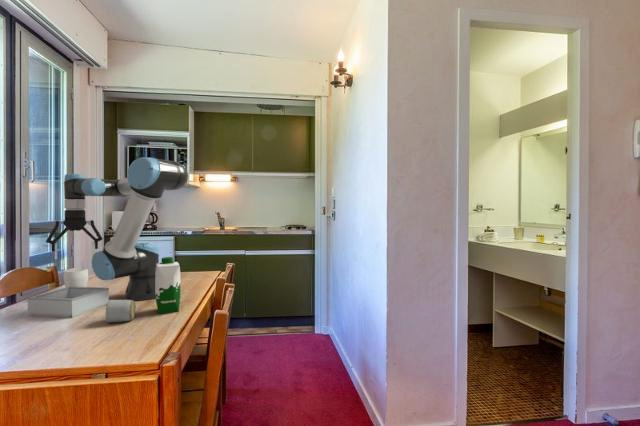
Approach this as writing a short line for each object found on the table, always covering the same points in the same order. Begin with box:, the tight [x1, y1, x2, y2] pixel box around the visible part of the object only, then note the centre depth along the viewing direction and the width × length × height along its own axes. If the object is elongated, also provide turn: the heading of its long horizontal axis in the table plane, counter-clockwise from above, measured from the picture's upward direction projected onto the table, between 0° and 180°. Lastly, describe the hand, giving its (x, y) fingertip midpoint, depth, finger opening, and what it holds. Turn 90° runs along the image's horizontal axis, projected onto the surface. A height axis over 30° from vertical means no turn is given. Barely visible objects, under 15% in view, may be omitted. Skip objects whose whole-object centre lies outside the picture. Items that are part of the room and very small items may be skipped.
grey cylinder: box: [105, 299, 136, 324], centre depth 124 cm, size 11×8×8 cm
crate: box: [27, 286, 110, 319], centre depth 136 cm, size 18×18×7 cm
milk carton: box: [155, 256, 181, 315], centre depth 134 cm, size 9×9×20 cm
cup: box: [62, 267, 89, 288], centre depth 154 cm, size 9×9×12 cm
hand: (75, 257), depth 154 cm, fingers open, 13 cm apart
